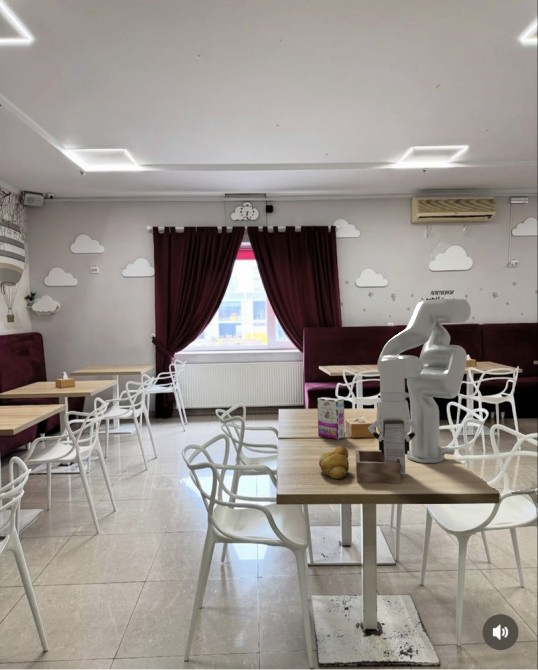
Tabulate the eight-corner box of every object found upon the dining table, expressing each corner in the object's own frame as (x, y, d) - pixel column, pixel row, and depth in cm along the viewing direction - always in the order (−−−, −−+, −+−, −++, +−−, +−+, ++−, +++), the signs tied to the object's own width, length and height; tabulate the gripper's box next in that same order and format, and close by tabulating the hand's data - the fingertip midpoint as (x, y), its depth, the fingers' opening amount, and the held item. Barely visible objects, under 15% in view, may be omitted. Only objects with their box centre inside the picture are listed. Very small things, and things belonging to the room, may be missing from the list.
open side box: (395, 469, 147) (395, 451, 147) (400, 483, 134) (400, 463, 134) (356, 467, 149) (355, 450, 149) (357, 481, 136) (356, 462, 136)
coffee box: (383, 463, 146) (382, 415, 145) (403, 464, 145) (402, 415, 144) (384, 473, 137) (383, 421, 136) (406, 474, 136) (405, 422, 135)
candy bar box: (345, 437, 188) (344, 399, 187) (337, 440, 184) (337, 400, 184) (325, 433, 196) (324, 396, 195) (317, 435, 192) (316, 397, 192)
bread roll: (350, 481, 137) (350, 455, 137) (319, 481, 138) (318, 455, 138) (348, 467, 150) (347, 444, 149) (319, 467, 151) (318, 444, 151)
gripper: (419, 394, 142) (420, 449, 143) (364, 394, 145) (365, 448, 146) (423, 399, 135) (424, 457, 135) (364, 399, 138) (366, 456, 139)
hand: (394, 452), depth 141 cm, fingers closed on coffee box, 6 cm apart
